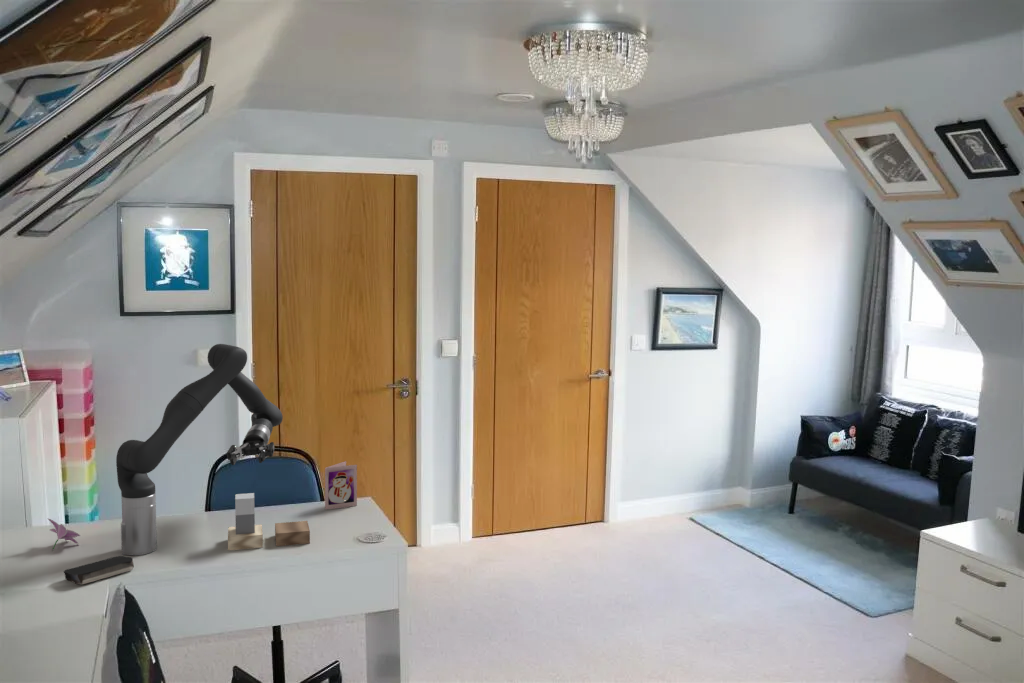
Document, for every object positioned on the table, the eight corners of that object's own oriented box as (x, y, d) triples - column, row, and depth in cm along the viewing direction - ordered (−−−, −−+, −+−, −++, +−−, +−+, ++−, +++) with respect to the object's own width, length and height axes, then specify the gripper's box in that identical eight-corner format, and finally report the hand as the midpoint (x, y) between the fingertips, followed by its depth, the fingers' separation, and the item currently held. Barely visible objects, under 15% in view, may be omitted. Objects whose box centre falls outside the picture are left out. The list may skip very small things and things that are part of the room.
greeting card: (325, 510, 283) (325, 468, 281) (320, 504, 289) (320, 463, 288) (357, 506, 288) (357, 465, 287) (351, 500, 295) (351, 460, 293)
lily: (80, 554, 239) (90, 525, 243) (41, 547, 233) (52, 517, 236) (70, 556, 247) (80, 527, 250) (32, 548, 241) (42, 519, 244)
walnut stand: (276, 546, 246) (276, 533, 246) (275, 535, 256) (275, 523, 256) (309, 543, 250) (309, 530, 249) (307, 532, 259) (307, 520, 259)
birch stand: (227, 550, 242) (227, 537, 242) (228, 539, 251) (228, 527, 251) (262, 547, 245) (262, 534, 245) (262, 536, 255) (261, 524, 254)
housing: (235, 534, 244) (235, 499, 243) (235, 528, 250) (235, 494, 249) (254, 533, 246) (254, 498, 245) (254, 527, 251) (254, 493, 250)
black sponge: (76, 589, 212) (76, 576, 212) (62, 581, 218) (61, 568, 217) (137, 572, 225) (136, 559, 225) (122, 564, 230) (122, 552, 230)
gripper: (233, 430, 268) (221, 452, 253) (277, 427, 269) (267, 449, 254) (237, 450, 271) (225, 473, 256) (280, 447, 272) (270, 470, 257)
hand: (246, 461), depth 255 cm, fingers open, 8 cm apart
